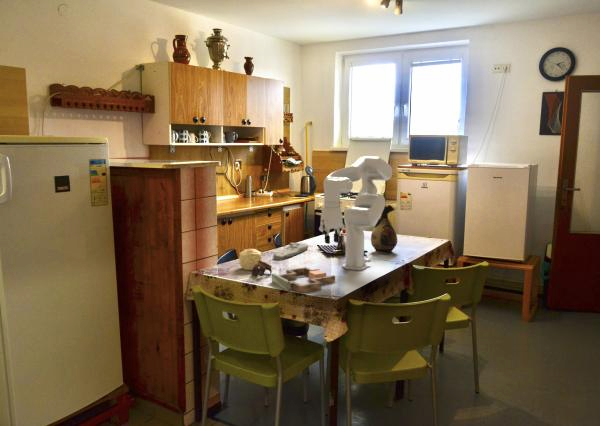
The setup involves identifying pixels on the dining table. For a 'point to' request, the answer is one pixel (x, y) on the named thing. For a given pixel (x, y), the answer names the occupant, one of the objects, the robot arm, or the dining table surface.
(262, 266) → the brown animal figurine
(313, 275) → the block
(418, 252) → the dining table surface
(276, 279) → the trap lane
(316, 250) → the dining table surface
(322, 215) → the robot arm
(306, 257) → the dining table surface
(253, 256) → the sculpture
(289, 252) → the elongated rock
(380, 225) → the ceramic jug
